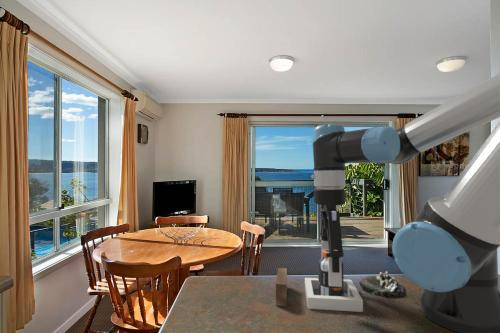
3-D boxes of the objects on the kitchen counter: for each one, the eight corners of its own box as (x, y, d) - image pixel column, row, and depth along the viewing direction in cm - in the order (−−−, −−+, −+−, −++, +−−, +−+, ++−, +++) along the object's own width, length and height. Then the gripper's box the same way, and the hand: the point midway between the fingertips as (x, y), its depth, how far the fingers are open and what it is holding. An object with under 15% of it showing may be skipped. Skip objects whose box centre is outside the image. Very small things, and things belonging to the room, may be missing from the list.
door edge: (286, 286, 75) (286, 268, 75) (286, 306, 64) (286, 284, 64) (278, 286, 76) (277, 267, 76) (276, 305, 65) (275, 284, 65)
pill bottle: (329, 304, 65) (328, 255, 65) (313, 294, 70) (313, 249, 70) (349, 299, 67) (348, 252, 67) (332, 290, 72) (331, 246, 73)
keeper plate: (351, 289, 73) (351, 279, 73) (363, 311, 61) (362, 300, 61) (304, 287, 75) (304, 277, 75) (307, 308, 63) (307, 297, 63)
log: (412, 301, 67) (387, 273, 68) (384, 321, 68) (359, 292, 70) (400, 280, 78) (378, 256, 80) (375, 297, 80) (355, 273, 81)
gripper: (310, 185, 82) (311, 258, 81) (319, 191, 57) (320, 296, 57) (336, 185, 81) (337, 259, 80) (357, 191, 56) (359, 298, 55)
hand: (330, 274), depth 68 cm, fingers open, 13 cm apart
